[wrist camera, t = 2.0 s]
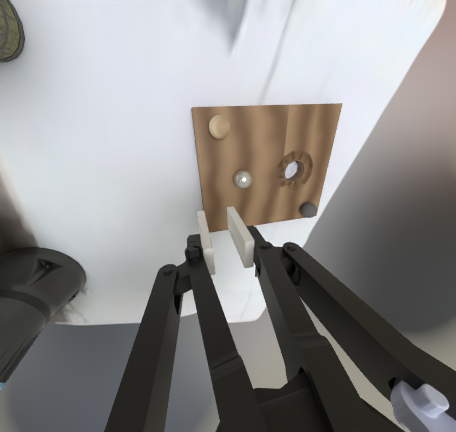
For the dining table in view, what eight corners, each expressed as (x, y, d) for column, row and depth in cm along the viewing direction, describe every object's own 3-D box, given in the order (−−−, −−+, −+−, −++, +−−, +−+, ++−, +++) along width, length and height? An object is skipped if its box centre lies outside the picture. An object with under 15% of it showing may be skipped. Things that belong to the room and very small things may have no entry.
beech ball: (208, 139, 30) (211, 140, 27) (206, 115, 28) (209, 114, 25) (228, 138, 30) (233, 139, 27) (227, 115, 29) (232, 113, 26)
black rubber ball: (296, 214, 42) (305, 221, 39) (298, 201, 40) (308, 207, 37) (309, 212, 42) (318, 219, 39) (312, 199, 40) (322, 205, 37)
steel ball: (232, 186, 35) (237, 191, 31) (231, 168, 33) (236, 173, 30) (248, 184, 35) (254, 189, 32) (249, 167, 33) (255, 171, 30)
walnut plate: (205, 227, 40) (206, 232, 38) (191, 108, 29) (191, 107, 27) (310, 211, 45) (316, 215, 43) (332, 104, 34) (342, 103, 32)
